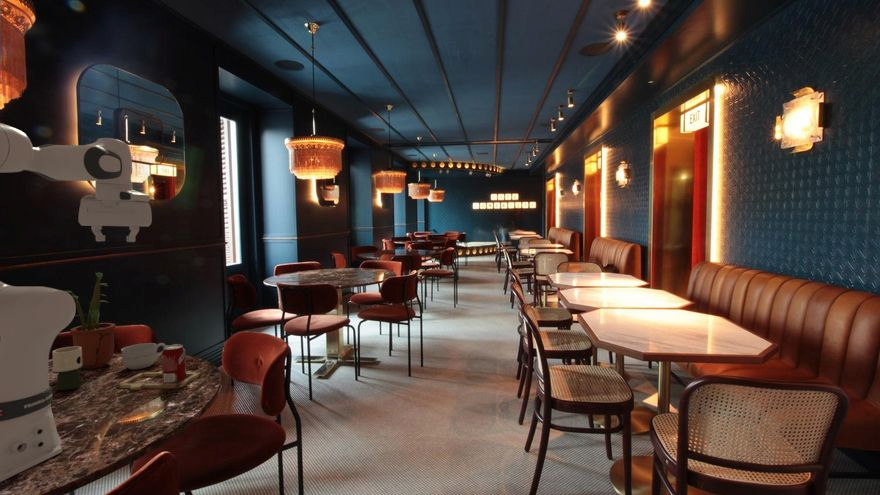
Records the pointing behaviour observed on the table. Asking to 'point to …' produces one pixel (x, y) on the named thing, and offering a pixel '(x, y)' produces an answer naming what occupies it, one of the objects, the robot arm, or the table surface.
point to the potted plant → (94, 333)
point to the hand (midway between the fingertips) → (115, 241)
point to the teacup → (140, 355)
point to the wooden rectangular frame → (139, 386)
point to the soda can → (173, 364)
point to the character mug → (67, 367)
